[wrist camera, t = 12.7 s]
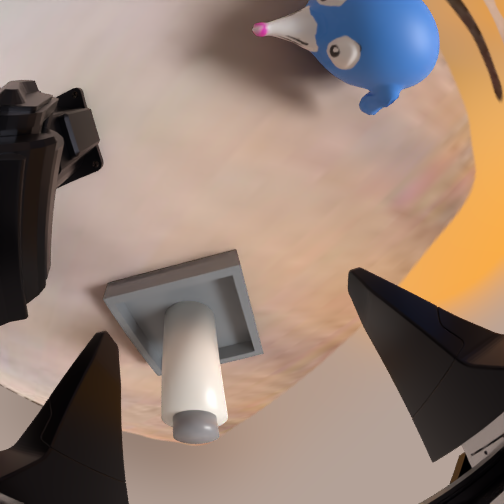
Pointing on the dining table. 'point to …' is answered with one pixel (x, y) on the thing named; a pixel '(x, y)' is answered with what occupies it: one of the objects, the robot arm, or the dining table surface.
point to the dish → (187, 289)
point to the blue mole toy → (365, 43)
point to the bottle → (192, 374)
